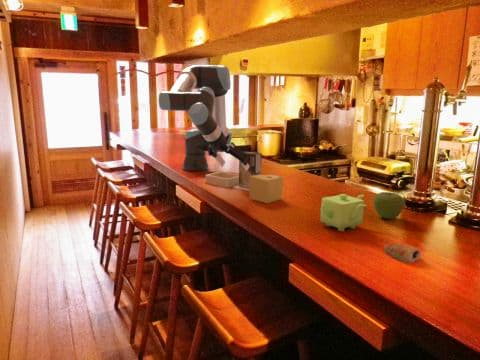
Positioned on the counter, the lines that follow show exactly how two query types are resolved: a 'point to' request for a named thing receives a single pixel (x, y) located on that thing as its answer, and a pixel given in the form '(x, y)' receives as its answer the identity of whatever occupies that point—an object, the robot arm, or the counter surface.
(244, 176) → the coffee box
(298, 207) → the counter surface
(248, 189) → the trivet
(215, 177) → the tray
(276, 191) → the cheese
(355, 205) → the kettle
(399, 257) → the grey tapered shell
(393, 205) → the apple
